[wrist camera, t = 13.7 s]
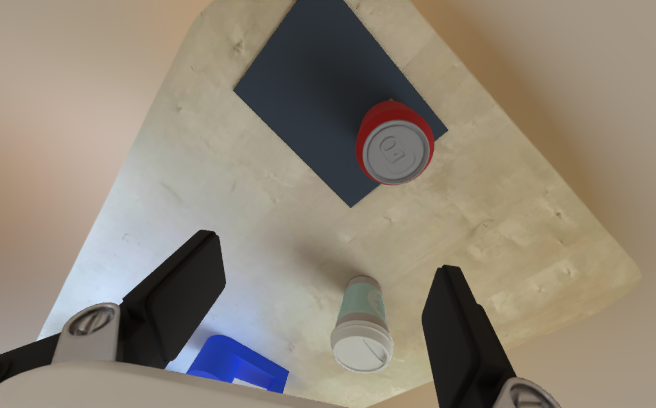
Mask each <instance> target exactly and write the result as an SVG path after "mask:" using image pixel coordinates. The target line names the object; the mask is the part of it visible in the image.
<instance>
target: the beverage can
mask: <svg viewBox="0 0 656 408" xmlns="http://www.w3.org/2000/svg"><path fill="white" fill-rule="evenodd" d="M433 152H434V137H433V133H432V130H431V128H430V126H429V125H428V123H427V122H426V121H425V120H424V119H423V118H422V117H421V116H420V115H419V114H417V113H416V112H415V111H414V110H412V109H411V108H409V107H408V106H406V105H405V104H403V103H401V102H398V101H384V102H380V103H378V104H376V105H374V106H373V107H372V108H371V109H370V110H369V111H368V112H367V113H366V114H365V116H364V118H363V120H362V123H361V125H360V129H359V133H358V137H357V142H356V158H357V161H358V164H359V166H360V168H361V169H362V171H363V172H364V173H365V174H366V175H367V176H368V177H369V178H371V179H372V180H374V181H376V182H378V183H381V184H385V185H399V184H403V183H406V182H409V181H411V180H413V179H415V178H416V177H418V176H419V175H420V174H421V173H422V172H423V171H424V170H425V169H426V167H427V166H428V164H429V163H430V161H431V159H432V156H433Z"/></svg>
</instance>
